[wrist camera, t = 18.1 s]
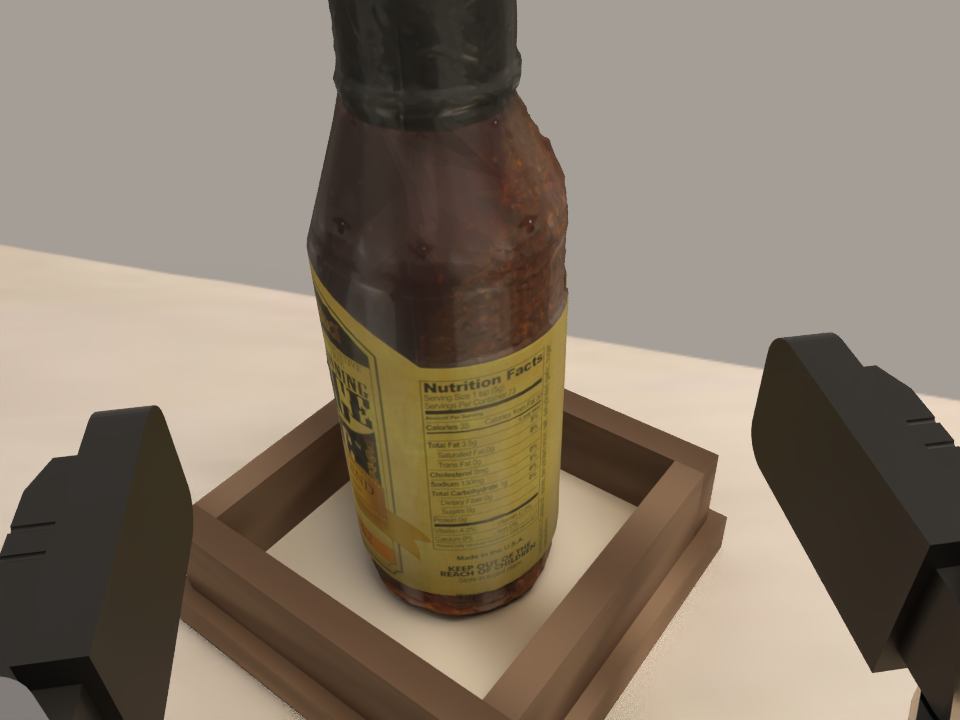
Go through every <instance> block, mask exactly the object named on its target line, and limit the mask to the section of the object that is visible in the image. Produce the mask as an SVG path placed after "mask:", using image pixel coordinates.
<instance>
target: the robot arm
mask: <svg viewBox="0 0 960 720" xmlns="http://www.w3.org/2000/svg"><path fill="white" fill-rule="evenodd" d="M751 437H752V446H753V451H754V455H755V458H756V461H757V464H758V466H759V468H760V470H761V472H762V474H763V476H764V477H765V479H766V481H767V483H768V485H769V487H770V488H771V490H772V492H773V494H774V496H775V497H776V499H777V501H778V503H779V505H780V506H781V508H782V510H783V512H784V514H785V516H786V517H787V519H788V521H789V523H790V525H791V526H792V528H793V530H794V532H795V534H796V536H797V537H798V539H799V541H800V543H801V545H802V546H803V548H804V550H805V552H806V554H807V555H808V557H809V559H810V561H811V563H812V565H813V566H814V568H815V570H816V572H817V574H818V575H819V577H820V579H821V581H822V583H823V584H824V586H825V588H826V590H827V592H828V594H829V595H830V597H831V599H832V601H833V603H834V604H835V606H836V608H837V610H838V612H839V613H840V615H841V617H842V619H843V621H844V623H845V624H846V626H847V628H848V630H849V632H850V633H851V635H852V637H853V639H854V641H855V642H856V644H857V646H858V648H859V650H860V652H861V653H862V655H863V657H864V659H865V661H866V662H867V664H868V666H869V668H870V670H871V671H872V673H876V672H883V671H889V670H896V669H903V668H908V669H909V671H910V673H911V674H912V676H913V678H914V679H915V681H916V683H917V685H918V687H917V689H916V691H915V692H914V694H913V698H912V701H911V706H910V711H909V717H908V720H960V447H959V446H957V447H955V445H954V439H953V438H952V437H951V436H950V435H949V433H948V432H947V431H946V430H945V429H944V427H943V426H942V425H941V424H940V423H936V422H935V417H934V415H933V414H932V413H931V412H930V411H929V409H928V408H927V407H926V406H925V404H924V403H923V402H922V401H921V400H920V398H919V397H918V396H917V395H916V394H915V392H914V391H913V390H912V389H911V388H909V387H908V386H907V385H905V384H903V383H902V382H900V381H899V380H897V379H896V378H894V377H893V376H891V375H889V374H888V373H887V372H885V371H884V370H882V369H880V368H879V367H878V366H867V367H863V366H862V364H861V363H860V362H859V361H858V359H857V358H856V357H855V356H854V354H853V353H852V352H851V350H850V349H849V348H848V347H847V345H846V344H845V343H844V342H843V340H842V339H841V338H840V337H839V336H837V335H836V334H834V333H820V334H811V335H802V336H794V337H784V338H778V339H775V340H774V341H773V342H772V343H771V345H770V347H769V350H768V354H767V358H766V363H765V367H764V371H763V376H762V380H761V385H760V389H759V394H758V398H757V402H756V407H755V411H754V416H753V420H752V428H751ZM10 527H11V534H7V537H6V539H5V542H4V545H3V547H2V550H1V553H0V720H164V715H165V708H166V702H167V696H168V689H169V683H170V677H171V670H172V664H173V658H174V651H175V645H176V639H177V632H178V626H179V620H180V613H181V607H182V601H183V594H184V588H185V582H186V575H187V569H188V563H189V557H190V550H191V544H192V537H193V507H192V500H191V495H190V490H189V487H188V484H187V481H186V478H185V475H184V472H183V469H182V466H181V464H180V461H179V458H178V455H177V452H176V449H175V446H174V443H173V440H172V438H171V435H170V432H169V429H168V426H167V423H166V420H165V417H164V415H163V413H162V411H161V409H160V408H159V407H158V406H156V405H153V406H144V407H135V408H126V409H117V410H108V411H99V412H94V413H93V414H92V415H91V417H90V419H89V421H88V424H87V427H86V430H85V433H84V436H83V439H82V442H81V446H80V449H79V452H78V455H75V456H66V457H57V458H53V459H52V460H51V461H50V462H49V463H48V464H47V465H46V467H45V468H44V469H43V470H42V471H41V472H40V473H39V474H38V476H37V477H36V478H35V479H34V480H33V481H32V482H31V483H30V485H29V486H28V487H27V488H26V489H25V490H24V492H23V494H22V497H21V500H20V502H19V505H18V508H17V510H16V513H15V516H14V518H13V521H12V524H11V526H10Z"/></svg>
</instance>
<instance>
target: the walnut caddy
mask: <svg viewBox="0 0 960 720" xmlns="http://www.w3.org/2000/svg"><path fill="white" fill-rule="evenodd" d="M718 456H719V455H717V454H715V453H712V452H710V451H708V450H705V449H703V448H701V447H698V446H696V445H694V444H691V443H689V442H687V441H684V440H682V439H680V438H677V437H675V436H673V435H671V434H668V433H666V432H664V431H661V430H659V429H657V428H654V427H652V426H650V425H647V424H645V423H643V422H640V421H638V420H636V419H633V418H631V417H629V416H627V415H624V414H622V413H620V412H617V411H615V410H613V409H610V408H608V407H606V406H603V405H601V404H599V403H596V402H594V401H592V400H589V399H587V398H585V397H583V396H580V395H578V394H576V393H573V392H571V391H569V390H566V389H564V400H563V423H562V444H561V464H560V482H559V511H558V519H557V526H556V530H555V534H554V536H553V539H552V546H551V548H550V553H549V556H548V558H547V561H546V564H545V567H544V569H543V571H542V572H541V574H540V575H539V577H538V578H537V580H536V582H535V583H534V585H533V587H532V588H531V589H530V590H529V591H527V592H526V593H525V594H524V595H522V596H519V597H517V598H516V599H513V600H511V602H510V603H508V604H506V605H500V606H498V607H497V608H493V609H491V610H490V611H485V612H480V613H476V614H469V615H443V614H440V613H438V612H433V611H430V610H427V609H425V608H423V607H420V606H415V605H412V604H408V603H407V602H406V601H404V600H402V599H401V598H400V597H398V596H396V595H395V594H394V593H393V592H392V591H390V590H389V589H388V588H387V587H386V585H385V584H384V582H383V581H382V579H381V578H380V575H379V573H378V571H377V569H376V567H375V565H374V563H373V561H372V557H371V556H370V554H369V553H368V551H367V549H366V548H365V546H364V543H363V540H362V536H361V532H360V528H359V522H358V517H357V512H356V507H355V502H354V497H353V491H352V486H351V481H350V476H349V471H348V465H347V460H346V455H345V450H344V444H343V439H342V433H341V428H340V422H339V418H338V413H337V407H336V401H335V399H333V400H332V401H331V402H329V403H328V404H327V405H325V406H324V407H323V408H321V409H320V410H319V411H317V412H316V413H315V414H313V415H312V416H311V417H309V418H308V419H307V420H305V421H304V422H303V423H301V424H300V425H299V426H297V427H296V428H295V429H293V430H292V431H291V432H289V433H288V434H287V435H285V436H284V437H283V438H281V439H280V440H279V441H277V442H276V443H275V444H273V445H272V446H271V447H269V448H268V449H267V450H265V451H264V452H263V453H261V454H260V455H259V456H257V457H256V458H255V459H253V460H252V461H251V462H249V463H248V464H247V465H245V466H244V467H243V468H241V469H240V470H239V471H238V472H236V473H235V474H234V475H232V476H231V477H230V478H228V479H227V480H226V481H224V482H223V483H222V484H220V485H219V486H218V487H216V488H215V489H214V490H212V491H211V492H210V493H208V494H207V495H206V496H204V497H203V498H202V499H200V500H199V501H198V502H196V503H195V504H194V505H192V507H193V537H192V544H191V550H190V557H189V563H188V569H187V576H186V582H185V588H184V594H183V601H182V607H181V613H180V617H181V619H182V620H183V621H184V622H186V623H187V624H188V625H189V626H191V627H192V628H193V629H194V630H196V631H197V632H198V633H199V634H201V635H202V636H203V637H204V638H206V639H207V640H208V641H209V642H211V643H212V644H213V645H215V646H216V647H217V648H218V649H220V650H221V651H222V652H223V653H225V654H226V655H227V656H228V657H230V658H231V659H232V660H233V661H235V662H236V663H237V664H238V665H240V666H241V667H242V668H243V669H245V670H246V671H247V672H248V673H250V674H251V675H252V676H253V677H255V678H256V679H257V680H258V681H260V682H261V683H262V684H263V685H265V686H266V687H267V688H268V689H270V690H271V691H272V692H273V693H275V694H276V695H277V696H278V697H280V698H281V699H282V700H283V701H285V702H286V703H287V704H289V705H290V706H291V707H292V708H294V709H295V710H296V711H297V712H299V713H300V714H301V715H302V716H304V717H305V718H306V719H307V720H604V719H605V717H606V716H607V714H608V713H609V711H610V710H611V708H612V707H613V705H614V704H615V702H616V701H617V699H618V698H619V696H620V695H621V693H622V692H623V691H624V689H625V688H626V686H627V685H628V683H629V682H630V680H631V679H632V677H633V676H634V674H635V673H636V671H637V670H638V668H639V667H640V665H641V664H642V662H643V661H644V660H645V658H646V657H647V655H648V654H649V652H650V651H651V649H652V648H653V646H654V645H655V643H656V642H657V640H658V639H659V637H660V636H661V634H662V633H663V631H664V630H665V628H666V627H667V626H668V624H669V623H670V621H671V620H672V618H673V617H674V615H675V614H676V612H677V611H678V609H679V608H680V606H681V605H682V603H683V602H684V600H685V599H686V597H687V596H688V594H689V593H690V592H691V590H692V589H693V587H694V586H695V584H696V583H697V581H698V580H699V578H700V577H701V575H702V574H703V572H704V571H705V569H706V568H707V566H708V565H709V563H710V562H711V561H712V559H713V558H714V556H715V555H716V553H717V552H718V550H719V549H720V547H721V544H722V539H723V534H724V530H725V525H726V520H727V517H726V516H724V515H721V514H719V513H717V512H715V511H713V510H711V509H709V505H710V499H711V494H712V489H713V483H714V478H715V472H716V467H717V462H718Z"/></svg>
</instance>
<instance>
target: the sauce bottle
mask: <svg viewBox="0 0 960 720" xmlns="http://www.w3.org/2000/svg"><path fill="white" fill-rule="evenodd" d="M328 1H329V9H330V13H331V19H332V31H333V37H334V50H335V54H336V65H335V72H334V76H333V80H334V82H335V85H336V88H337V92H338V93H337V98H336V104H335V111H334V117H333V122H332V127H331V132H330V136H329V141H328V146H327V150H326V155H325V160H324V164H323V169H322V173H321V179H320V183H319V188H318V193H317V197H316V201H315V206H314V210H313V215H312V219H311V224H310V228H309V233H308V237H307V251H308V257H309V263H310V268H311V274H312V279H313V284H314V290H315V295H316V300H317V306H318V311H319V316H320V321H321V326H322V331H323V337H324V342H325V347H326V355H327V363H328V366H329V370H330V376H331V382H332V386H333V391H334V397H335V401H336V407H337V413H338V418H339V422H340V428H341V433H342V439H343V444H344V450H345V455H346V460H347V465H348V471H349V476H350V481H351V486H352V491H353V497H354V502H355V507H356V512H357V517H358V522H359V528H360V532H361V536H362V540H363V543H364V546H365V548H366V549H367V551H368V553H369V554H370V556H371V557H372V561H373V563H374V565H375V567H376V569H377V571H378V573H379V575H380V578H381V579H382V581H383V582H384V584H385V585H386V587H387V588H388V589H389V590H390V591H392V592H393V593H394V594H395V595H396V596H398V597H400V598H401V599H402V600H404V601H406V602H407V603H408V604H412V605H415V606H420V607H423V608H425V609H427V610H430V611H433V612H438V613H440V614H443V615H469V614H476V613H480V612H485V611H490V610H491V609H493V608H497V607H498V606H500V605H506V604H508V603H510V602H511V600H513V599H516V598H517V597H519V596H522V595H524V594H525V593H526V592H527V591H529V590H530V589H531V588H532V587H533V585H534V583H535V582H536V580H537V578H538V577H539V575H540V574H541V572H542V571H543V569H544V567H545V564H546V561H547V558H548V556H549V553H550V548H551V546H552V539H553V536H554V534H555V530H556V526H557V519H558V511H559V482H560V464H561V444H562V423H563V400H564V379H565V357H566V334H567V313H568V289H567V288H566V277H567V274H566V270H565V266H564V263H565V253H566V249H565V242H566V230H567V226H568V205H567V198H566V188H565V176H564V173H563V171H562V168H561V166H560V164H559V162H558V160H557V158H556V156H555V154H554V151H553V149H552V146H551V143H550V140H549V139H548V138H546V137H544V136H542V135H541V134H540V132H539V129H538V126H537V125H536V124H535V123H534V122H533V120H532V119H531V118H530V115H529V114H528V112H527V108H526V106H525V104H524V103H523V101H522V100H521V98H520V97H519V95H518V94H517V92H516V88H517V86H518V85H519V81H520V77H521V64H522V59H521V54H520V52H519V51H518V49H517V46H516V42H517V4H516V0H328Z"/></svg>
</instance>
